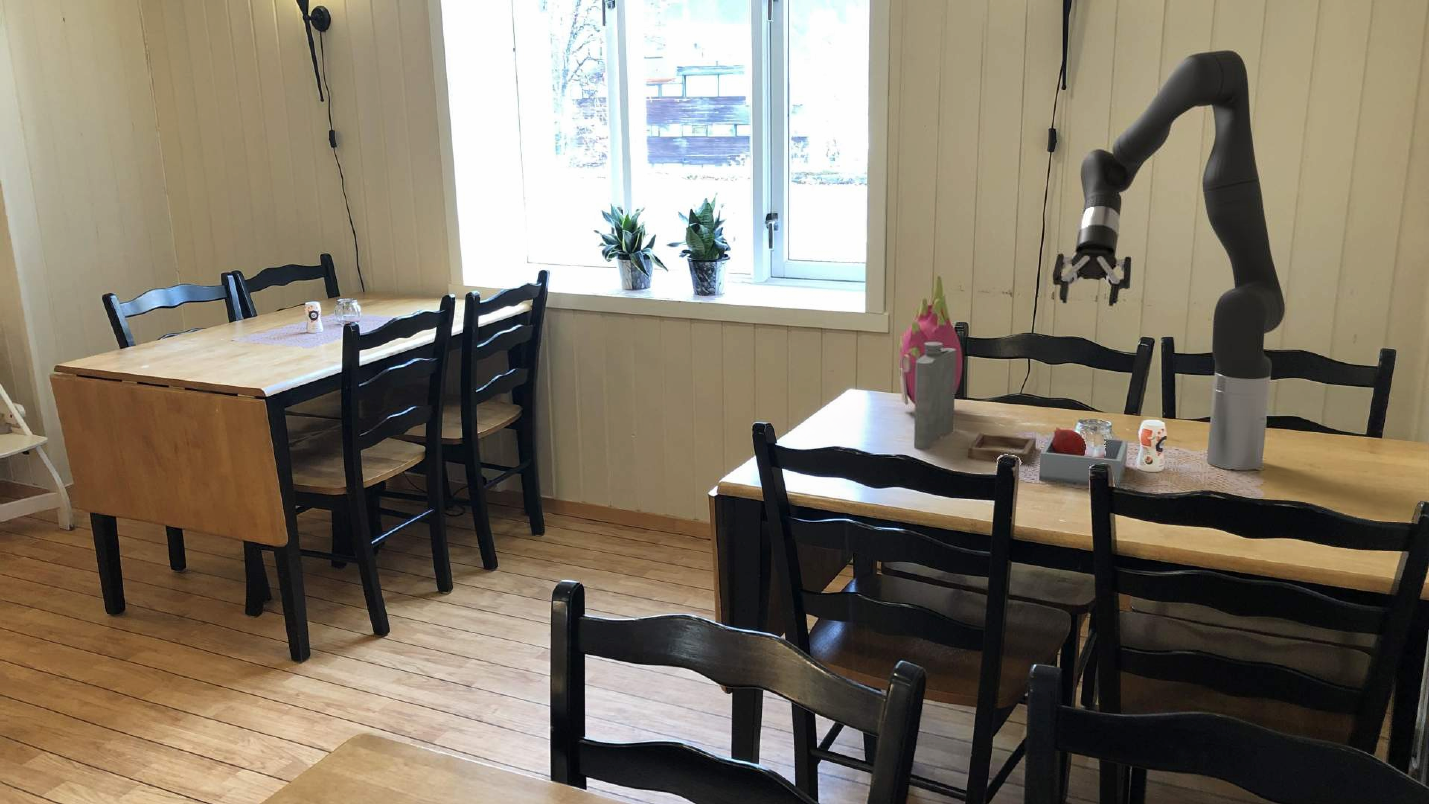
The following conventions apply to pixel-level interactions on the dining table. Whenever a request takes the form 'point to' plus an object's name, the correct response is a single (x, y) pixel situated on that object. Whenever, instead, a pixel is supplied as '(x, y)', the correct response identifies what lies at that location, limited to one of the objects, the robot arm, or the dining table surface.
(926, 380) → the hip flask
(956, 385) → the pink dragon fruit
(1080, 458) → the bin
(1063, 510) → the dining table surface
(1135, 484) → the dining table surface
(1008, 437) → the tray
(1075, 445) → the onion
